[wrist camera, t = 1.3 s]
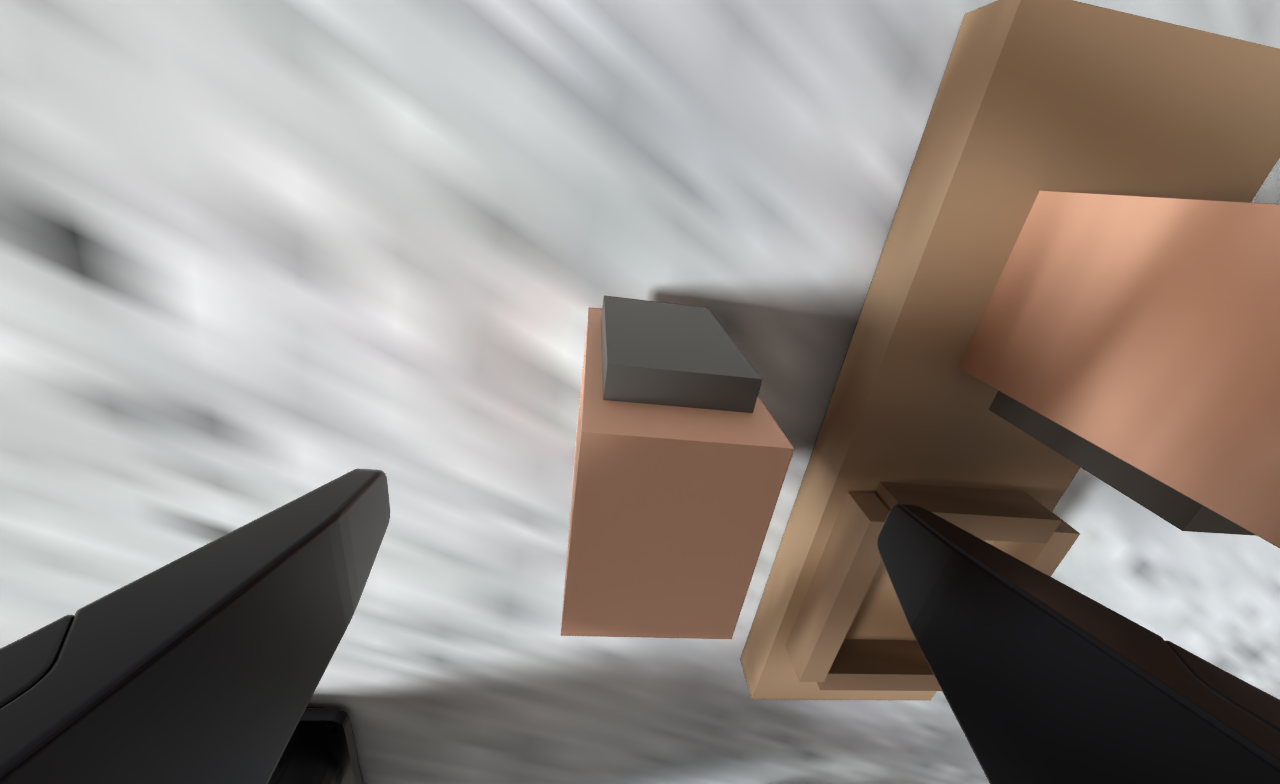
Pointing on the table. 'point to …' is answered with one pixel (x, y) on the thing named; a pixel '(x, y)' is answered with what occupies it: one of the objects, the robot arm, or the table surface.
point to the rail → (958, 237)
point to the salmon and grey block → (667, 476)
